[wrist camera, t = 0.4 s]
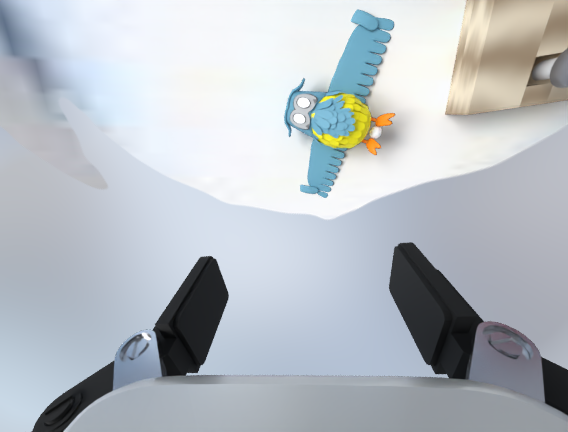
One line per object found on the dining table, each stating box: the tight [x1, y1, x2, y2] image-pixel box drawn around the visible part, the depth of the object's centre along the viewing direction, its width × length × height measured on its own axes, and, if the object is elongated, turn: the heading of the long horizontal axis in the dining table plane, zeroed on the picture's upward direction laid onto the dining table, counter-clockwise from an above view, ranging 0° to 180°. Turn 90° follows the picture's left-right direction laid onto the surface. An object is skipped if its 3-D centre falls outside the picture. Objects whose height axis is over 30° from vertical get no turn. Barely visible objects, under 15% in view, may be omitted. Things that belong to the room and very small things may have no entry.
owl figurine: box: [284, 10, 395, 198], centre depth 31 cm, size 28×9×15 cm
